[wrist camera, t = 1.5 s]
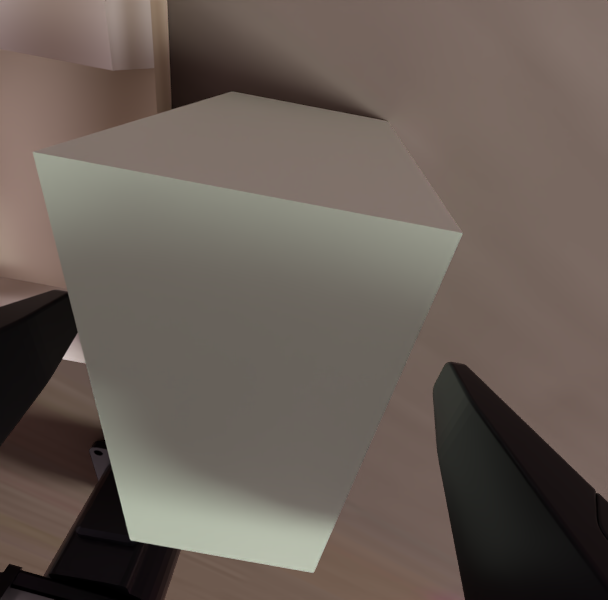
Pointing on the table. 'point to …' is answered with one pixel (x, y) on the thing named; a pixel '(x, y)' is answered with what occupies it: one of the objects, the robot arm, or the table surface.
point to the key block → (243, 310)
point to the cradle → (66, 111)
